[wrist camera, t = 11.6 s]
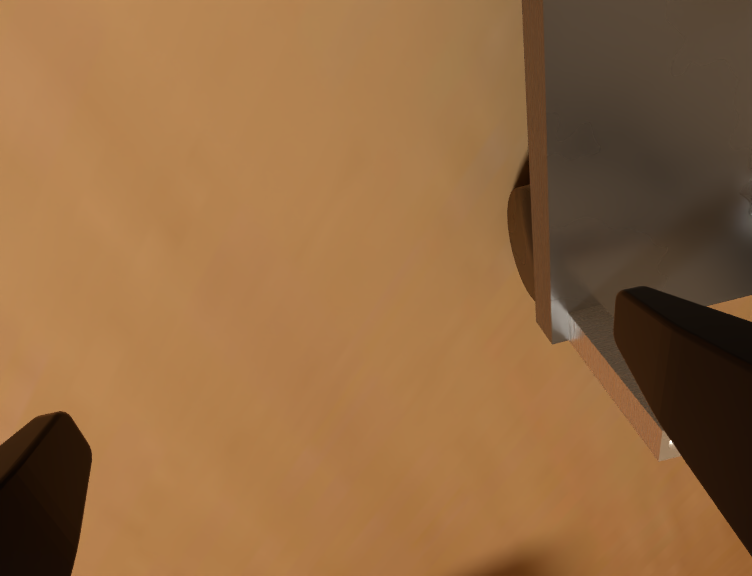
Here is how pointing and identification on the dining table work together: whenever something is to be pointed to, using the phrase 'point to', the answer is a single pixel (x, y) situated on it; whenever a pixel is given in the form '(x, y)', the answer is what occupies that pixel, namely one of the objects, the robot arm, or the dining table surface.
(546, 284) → the platform trolley
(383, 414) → the dining table surface
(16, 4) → the dining table surface
